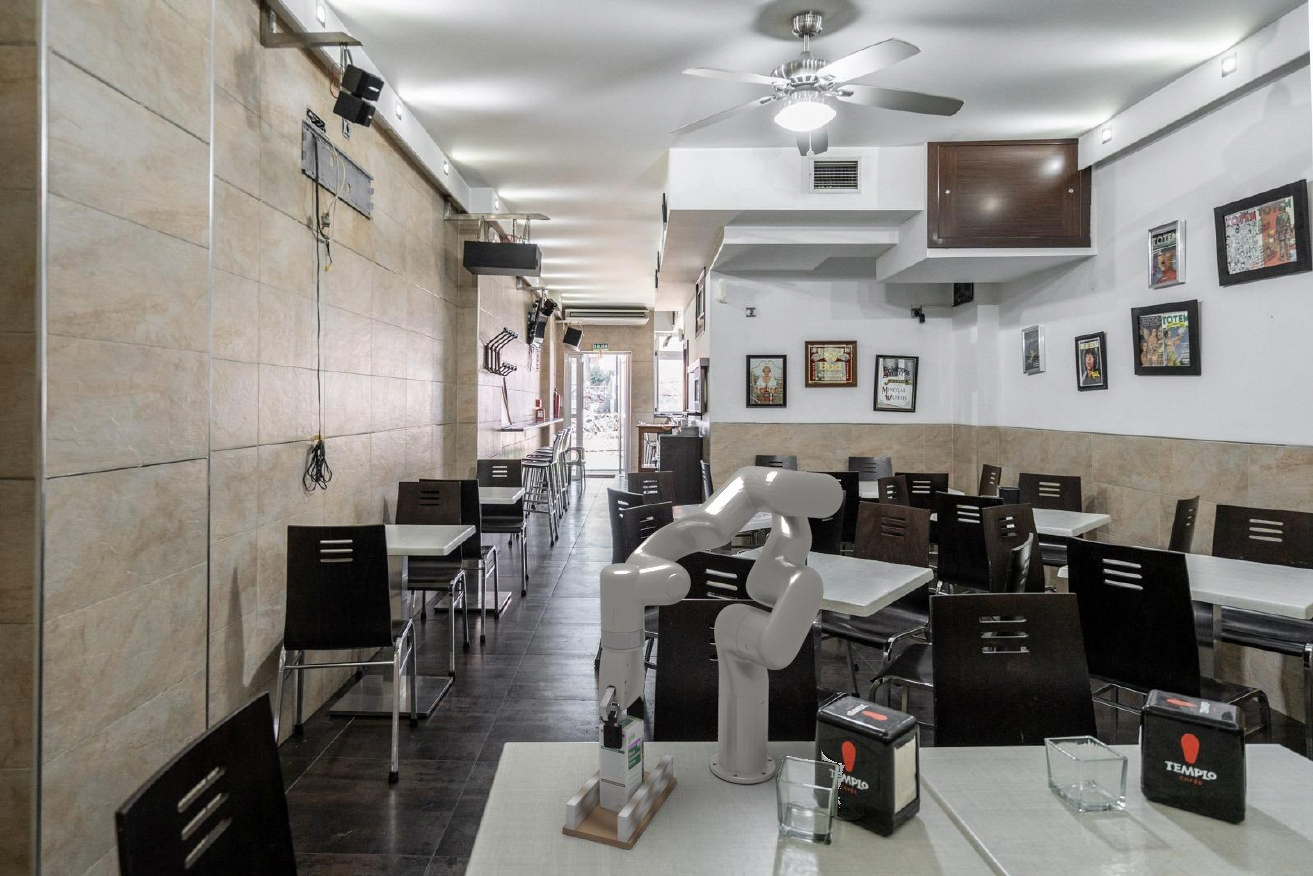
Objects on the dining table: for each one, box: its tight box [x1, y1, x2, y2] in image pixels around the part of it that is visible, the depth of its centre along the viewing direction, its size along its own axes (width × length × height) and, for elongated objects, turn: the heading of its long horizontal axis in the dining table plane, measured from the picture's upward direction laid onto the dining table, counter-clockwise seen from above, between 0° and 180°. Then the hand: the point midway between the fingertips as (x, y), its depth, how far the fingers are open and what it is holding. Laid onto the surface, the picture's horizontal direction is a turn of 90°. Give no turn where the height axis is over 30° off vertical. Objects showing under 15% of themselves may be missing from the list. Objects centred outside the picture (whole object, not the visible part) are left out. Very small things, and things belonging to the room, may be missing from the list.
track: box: [562, 754, 678, 850], centre depth 125 cm, size 22×12×5 cm, turn 159°
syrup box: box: [598, 714, 645, 813], centre depth 124 cm, size 6×6×14 cm
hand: (624, 734), depth 124 cm, fingers open, 9 cm apart
